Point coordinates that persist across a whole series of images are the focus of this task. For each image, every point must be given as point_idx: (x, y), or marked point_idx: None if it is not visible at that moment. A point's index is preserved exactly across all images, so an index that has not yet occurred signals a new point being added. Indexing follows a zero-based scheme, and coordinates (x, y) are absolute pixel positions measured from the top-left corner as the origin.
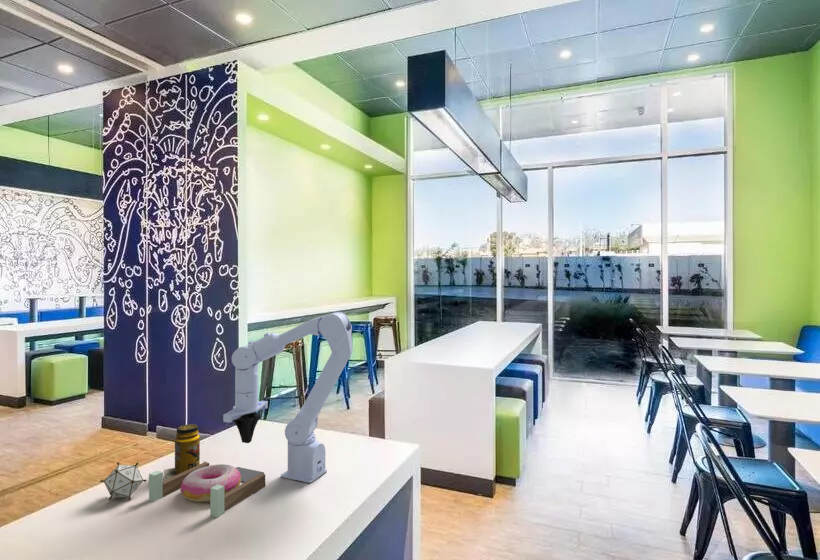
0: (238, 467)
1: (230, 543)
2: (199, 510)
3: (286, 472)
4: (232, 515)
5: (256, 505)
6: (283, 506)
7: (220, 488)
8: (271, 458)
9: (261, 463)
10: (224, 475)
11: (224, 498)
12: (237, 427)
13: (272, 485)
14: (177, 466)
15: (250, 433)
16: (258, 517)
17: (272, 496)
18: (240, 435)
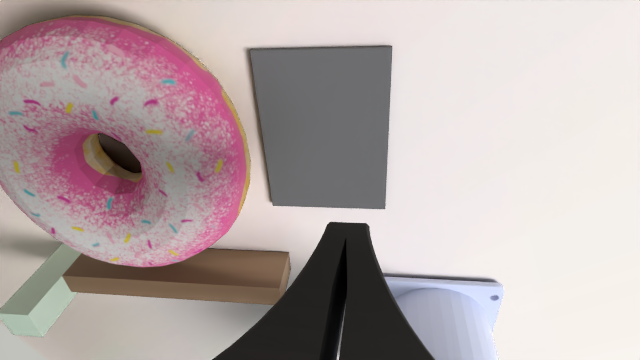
0: (387, 59)
1: (52, 338)
2: None
3: (407, 287)
4: None
5: (187, 305)
6: None
7: (26, 334)
8: (580, 128)
9: (494, 124)
10: (121, 245)
11: (79, 291)
12: (272, 308)
13: None
14: None
15: (338, 334)
16: (152, 334)
17: (251, 314)
18: (313, 254)
